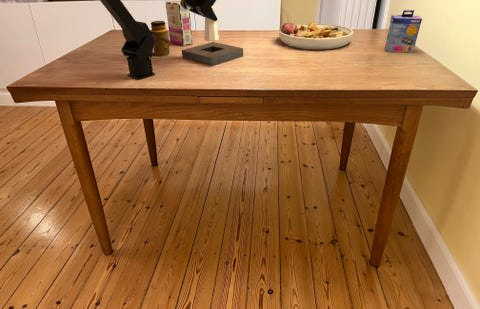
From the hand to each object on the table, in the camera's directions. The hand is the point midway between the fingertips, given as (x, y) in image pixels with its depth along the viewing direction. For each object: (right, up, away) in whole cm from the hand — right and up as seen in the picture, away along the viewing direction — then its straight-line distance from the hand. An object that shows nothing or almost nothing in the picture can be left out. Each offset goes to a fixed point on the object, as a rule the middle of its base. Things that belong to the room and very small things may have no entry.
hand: (214, 19), depth 118 cm
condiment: (-22, -9, +11) cm, 26 cm away
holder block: (-1, -11, +6) cm, 13 cm away
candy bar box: (-16, 0, +27) cm, 31 cm away
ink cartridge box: (+69, -8, +9) cm, 71 cm away
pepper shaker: (-1, -6, +3) cm, 7 cm away
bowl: (+41, -1, +24) cm, 47 cm away
